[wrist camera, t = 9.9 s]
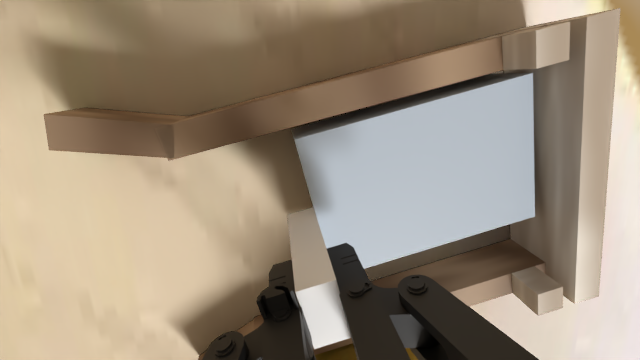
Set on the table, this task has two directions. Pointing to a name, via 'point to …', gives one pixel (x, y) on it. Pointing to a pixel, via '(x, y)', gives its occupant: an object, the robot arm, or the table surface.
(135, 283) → the table surface
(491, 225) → the pale blue block
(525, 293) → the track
